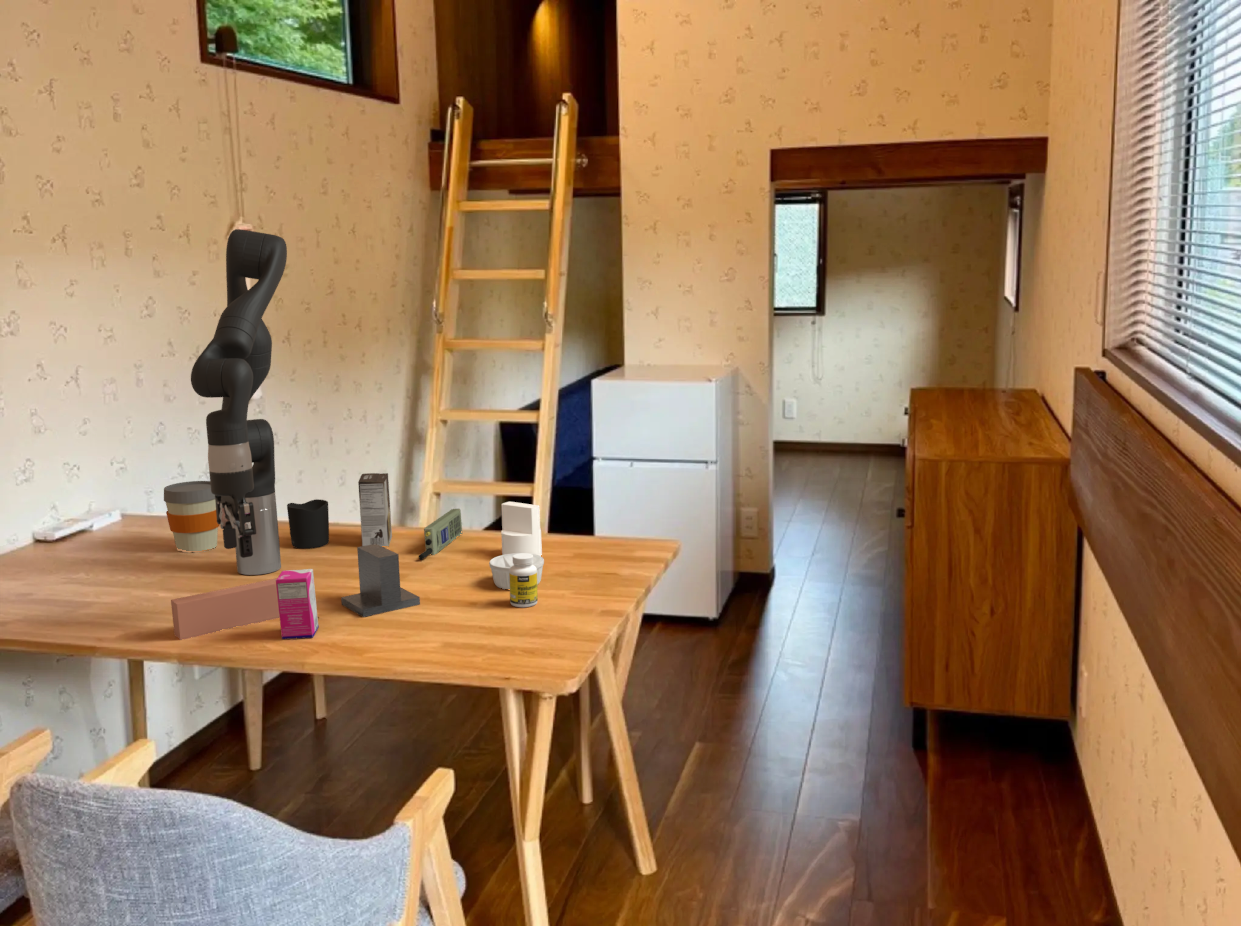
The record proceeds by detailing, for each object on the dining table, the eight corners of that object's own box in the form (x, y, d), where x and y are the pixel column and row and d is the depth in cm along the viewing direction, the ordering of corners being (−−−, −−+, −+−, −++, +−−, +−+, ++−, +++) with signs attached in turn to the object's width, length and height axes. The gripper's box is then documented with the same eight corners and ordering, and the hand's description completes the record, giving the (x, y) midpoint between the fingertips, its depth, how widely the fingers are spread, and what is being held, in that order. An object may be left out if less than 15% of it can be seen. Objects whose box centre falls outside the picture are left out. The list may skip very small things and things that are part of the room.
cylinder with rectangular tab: (549, 554, 251) (548, 503, 249) (525, 564, 244) (524, 511, 241) (518, 549, 256) (516, 498, 254) (494, 558, 248) (492, 506, 246)
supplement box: (286, 628, 204) (282, 569, 202) (319, 627, 205) (315, 568, 203) (280, 639, 199) (275, 578, 196) (313, 638, 199) (308, 577, 197)
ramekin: (479, 585, 229) (478, 560, 228) (519, 573, 237) (518, 549, 236) (515, 596, 222) (514, 570, 221) (555, 583, 230) (554, 558, 229)
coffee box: (365, 538, 268) (361, 473, 265) (392, 537, 268) (388, 472, 265) (361, 548, 259) (357, 481, 256) (389, 546, 260) (385, 480, 256)
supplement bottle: (516, 609, 213) (514, 561, 211) (506, 602, 218) (504, 554, 216) (542, 605, 215) (540, 557, 213) (531, 597, 220) (529, 550, 218)
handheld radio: (464, 534, 271) (428, 562, 246) (452, 534, 271) (414, 562, 247) (462, 508, 269) (426, 533, 245) (449, 508, 270) (412, 534, 246)
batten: (174, 636, 202) (170, 599, 201) (299, 608, 217) (297, 574, 215) (180, 641, 199) (176, 604, 198) (306, 612, 214) (304, 577, 213)
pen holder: (300, 538, 268) (297, 498, 266) (337, 539, 267) (334, 499, 265) (283, 549, 259) (280, 508, 257) (321, 550, 258) (318, 508, 256)
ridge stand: (341, 604, 218) (338, 550, 216) (397, 592, 225) (394, 540, 223) (363, 617, 210) (359, 561, 208) (419, 604, 217) (417, 550, 215)
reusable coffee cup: (213, 554, 255) (207, 491, 252) (159, 555, 256) (153, 492, 253) (232, 540, 268) (227, 480, 265) (181, 541, 268) (175, 480, 265)
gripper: (264, 469, 199) (272, 556, 202) (237, 459, 210) (245, 541, 213) (223, 475, 195) (231, 563, 198) (197, 464, 206) (205, 548, 209)
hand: (238, 552), depth 205 cm, fingers open, 8 cm apart
